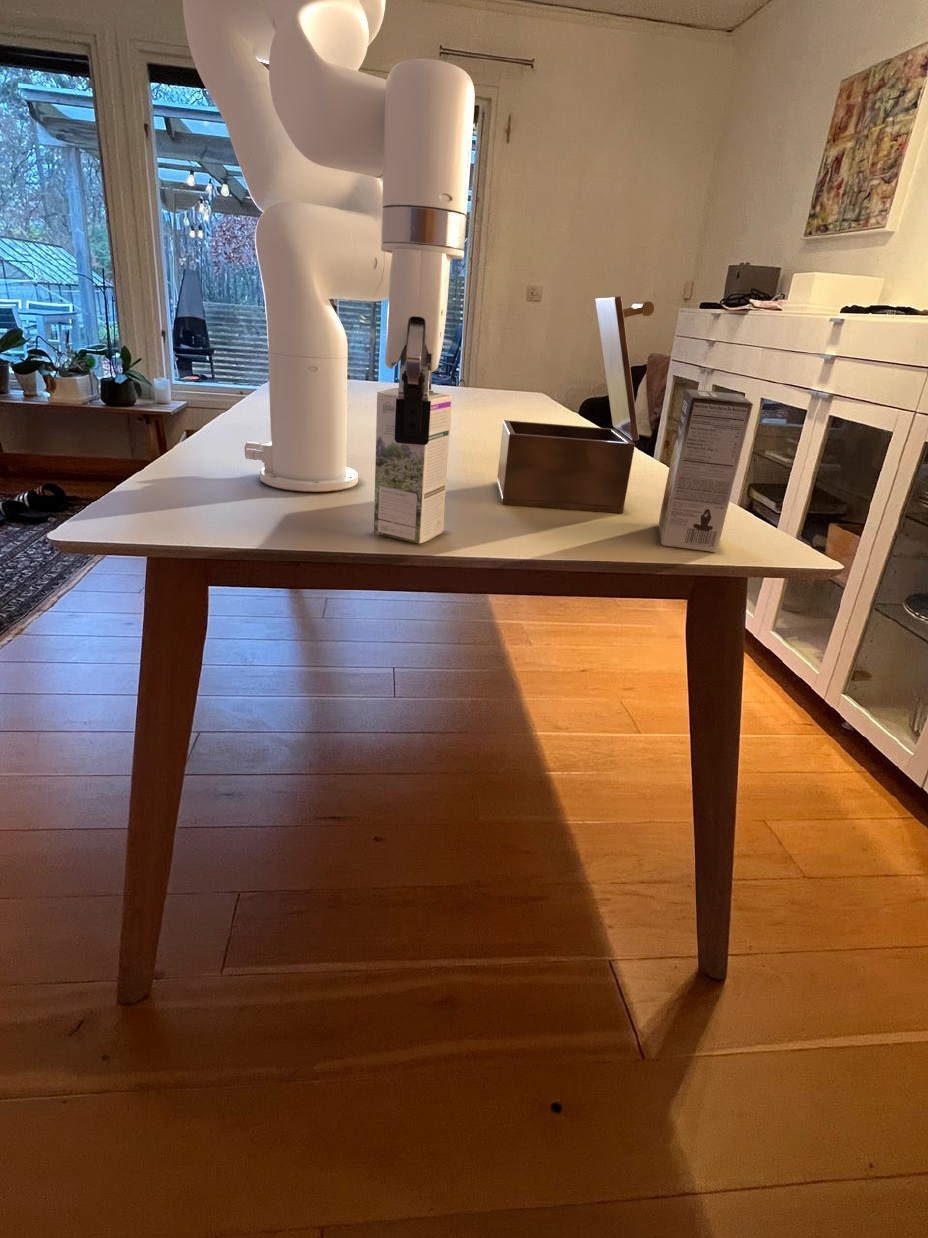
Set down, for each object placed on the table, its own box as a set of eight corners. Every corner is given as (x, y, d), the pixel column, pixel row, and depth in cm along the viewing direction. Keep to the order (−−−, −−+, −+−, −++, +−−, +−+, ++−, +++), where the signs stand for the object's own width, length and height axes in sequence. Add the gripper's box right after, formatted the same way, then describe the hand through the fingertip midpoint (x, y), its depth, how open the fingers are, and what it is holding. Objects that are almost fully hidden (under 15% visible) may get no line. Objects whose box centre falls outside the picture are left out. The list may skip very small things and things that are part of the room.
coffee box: (656, 524, 85) (683, 387, 79) (709, 531, 84) (741, 393, 78) (660, 546, 77) (691, 395, 70) (719, 554, 76) (756, 402, 69)
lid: (614, 297, 78) (660, 286, 78) (595, 298, 89) (635, 288, 89) (632, 440, 85) (675, 431, 85) (612, 426, 96) (650, 417, 95)
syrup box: (445, 532, 75) (455, 393, 69) (419, 546, 70) (427, 396, 64) (399, 522, 77) (405, 386, 71) (370, 535, 72) (375, 389, 66)
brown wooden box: (502, 504, 88) (509, 433, 84) (496, 483, 99) (503, 419, 95) (622, 513, 89) (635, 443, 85) (604, 491, 99) (615, 428, 96)
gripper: (389, 241, 70) (384, 420, 77) (371, 221, 54) (366, 449, 61) (463, 248, 70) (451, 425, 78) (466, 230, 54) (450, 455, 62)
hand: (413, 434), depth 69 cm, fingers closed on syrup box, 7 cm apart
